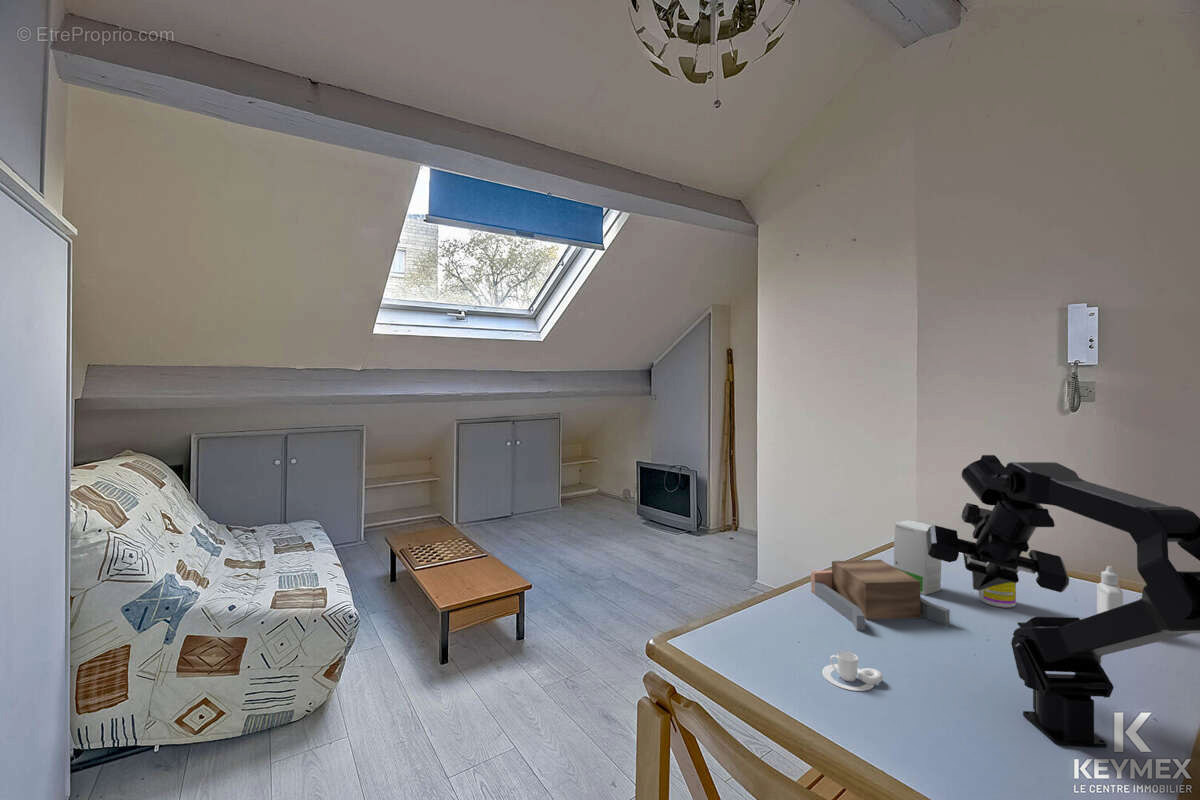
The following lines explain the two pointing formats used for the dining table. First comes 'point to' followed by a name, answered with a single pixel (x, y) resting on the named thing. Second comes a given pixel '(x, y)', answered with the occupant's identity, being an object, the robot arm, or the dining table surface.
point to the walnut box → (877, 589)
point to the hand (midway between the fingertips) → (975, 587)
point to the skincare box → (916, 555)
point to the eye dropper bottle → (1108, 591)
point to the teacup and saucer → (852, 672)
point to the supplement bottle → (999, 595)
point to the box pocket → (823, 590)
